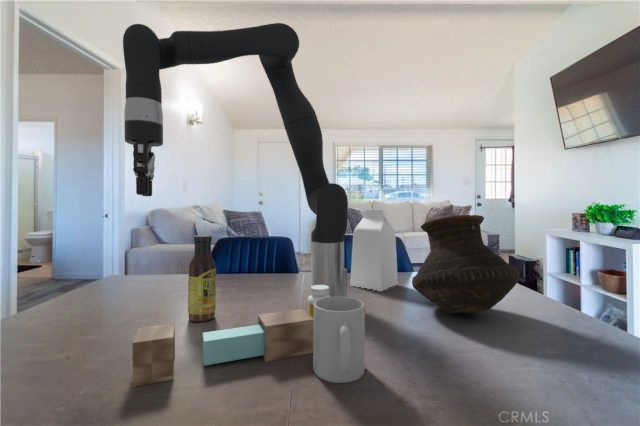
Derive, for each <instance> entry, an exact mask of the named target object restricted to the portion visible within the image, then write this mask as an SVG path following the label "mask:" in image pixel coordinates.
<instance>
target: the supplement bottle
mask: <svg viewBox="0 0 640 426" xmlns="http://www.w3.org/2000/svg"><path fill="white" fill-rule="evenodd" d="M311 294H312V295H311ZM328 294H329V286H326V285H314V286H311V285H310V295H309V296H308V298H307V301H306V302H307V303H306V304H307V305H306V309H307V311H306V313H308V314H309V315H310V316H311V317H312V318H313V319H314V303H315V302H316V301H317V300H319V299H322V298H326V297H330V296H329V295H328Z"/></svg>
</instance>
